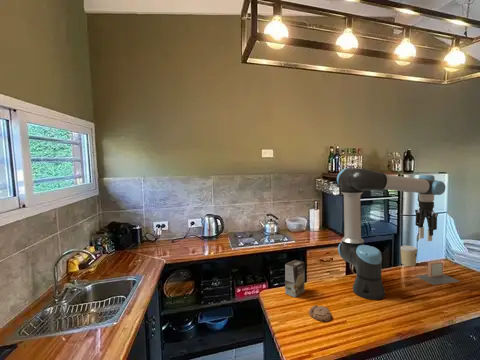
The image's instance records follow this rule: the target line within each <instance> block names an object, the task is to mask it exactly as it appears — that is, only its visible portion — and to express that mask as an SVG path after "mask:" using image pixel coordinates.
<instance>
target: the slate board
mask: <svg viewBox="0 0 480 360" xmlns="http://www.w3.org/2000/svg"><path fill="white" fill-rule="evenodd" d="M415 277H416V278H417V279H420V280H422V281H424V282H427V283H428V284H430V285H432V286H435V285H445V284H451V283H452V284H453V283H458V282H460V283H461V280H458V279H456V278H454V277H452V276H449V275H447V274H444V273H443V276H438V277H429V276H428V273H425V274H419V275H415Z"/></svg>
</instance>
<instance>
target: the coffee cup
mask: <svg viewBox="0 0 480 360" xmlns="http://www.w3.org/2000/svg"><path fill="white" fill-rule="evenodd" d="M417 257H418V248H417V247H416V246H413V245H401V246H400V262H401V265H403V266H406V267H416V266H417Z"/></svg>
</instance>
